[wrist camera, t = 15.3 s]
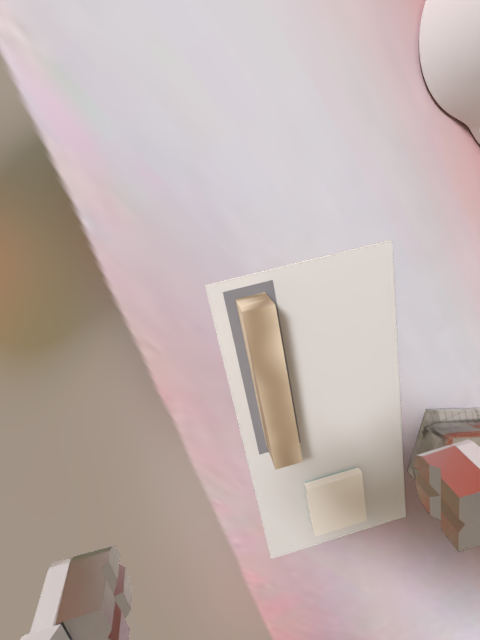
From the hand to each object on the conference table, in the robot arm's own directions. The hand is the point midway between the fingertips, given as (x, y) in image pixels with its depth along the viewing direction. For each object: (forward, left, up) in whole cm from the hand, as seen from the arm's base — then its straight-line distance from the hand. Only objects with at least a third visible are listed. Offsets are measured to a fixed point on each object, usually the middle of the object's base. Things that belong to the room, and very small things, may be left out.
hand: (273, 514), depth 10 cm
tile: (-10, +29, -28) cm, 41 cm away
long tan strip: (-5, +13, -29) cm, 32 cm away
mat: (-10, +21, -29) cm, 37 cm away
